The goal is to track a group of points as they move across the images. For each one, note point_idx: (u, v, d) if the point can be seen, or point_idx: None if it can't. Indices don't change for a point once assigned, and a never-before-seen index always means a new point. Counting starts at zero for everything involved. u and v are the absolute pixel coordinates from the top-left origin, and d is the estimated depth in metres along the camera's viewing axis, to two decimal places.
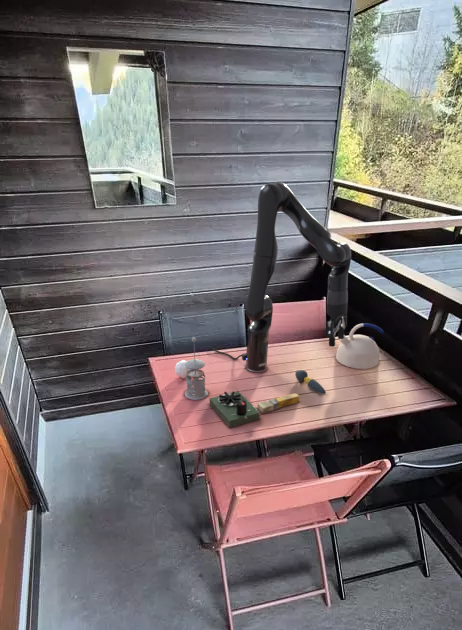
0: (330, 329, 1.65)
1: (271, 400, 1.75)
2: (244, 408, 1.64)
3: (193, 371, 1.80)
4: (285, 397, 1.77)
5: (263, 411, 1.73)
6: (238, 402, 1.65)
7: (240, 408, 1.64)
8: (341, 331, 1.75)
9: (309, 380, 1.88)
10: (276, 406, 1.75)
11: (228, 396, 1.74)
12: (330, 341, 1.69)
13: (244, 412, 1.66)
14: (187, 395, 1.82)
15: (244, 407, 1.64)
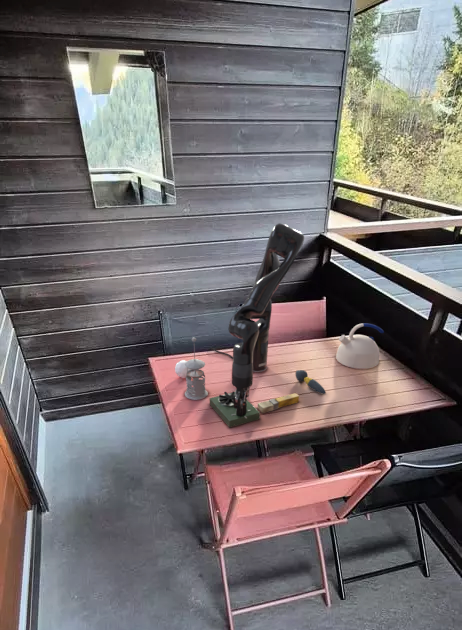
0: None
1: (271, 400, 1.75)
2: (244, 408, 1.64)
3: (193, 371, 1.80)
4: (285, 397, 1.77)
5: (263, 411, 1.73)
6: None
7: None
8: None
9: (309, 380, 1.88)
10: (276, 406, 1.75)
11: (228, 396, 1.74)
12: None
13: (244, 412, 1.66)
14: (187, 395, 1.82)
15: (244, 407, 1.64)
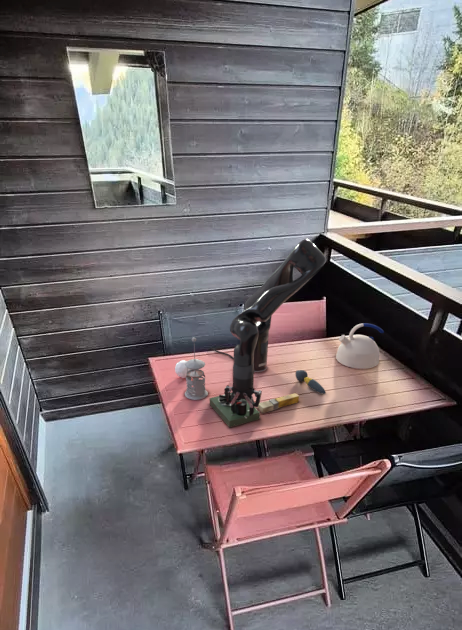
0: (260, 398, 1.62)
1: (271, 400, 1.75)
2: (237, 407, 1.65)
3: (193, 371, 1.80)
4: (285, 397, 1.77)
5: (263, 411, 1.73)
6: (241, 401, 1.66)
7: None
8: (235, 404, 1.66)
9: (309, 380, 1.88)
10: (276, 406, 1.75)
11: None
12: (253, 410, 1.65)
13: (237, 411, 1.66)
14: (187, 395, 1.82)
15: (237, 406, 1.65)
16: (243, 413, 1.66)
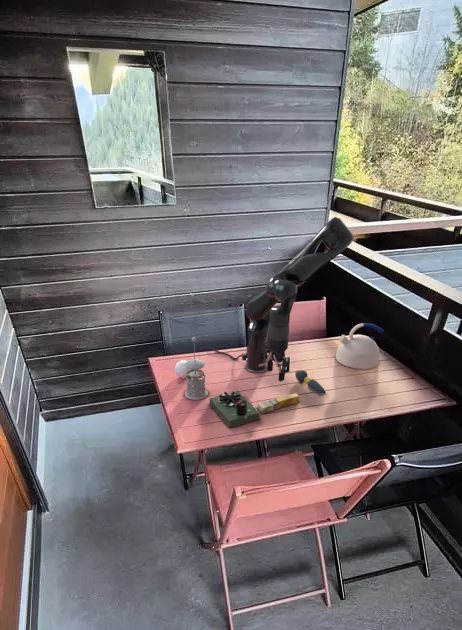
0: (288, 365, 1.58)
1: (271, 400, 1.75)
2: (237, 407, 1.65)
3: (193, 371, 1.80)
4: (285, 397, 1.77)
5: (263, 411, 1.73)
6: (241, 401, 1.66)
7: None
8: (271, 363, 1.69)
9: (309, 380, 1.88)
10: (276, 406, 1.75)
11: (228, 396, 1.74)
12: (282, 376, 1.63)
13: (237, 411, 1.66)
14: (187, 395, 1.82)
15: (237, 406, 1.65)
16: (243, 413, 1.66)
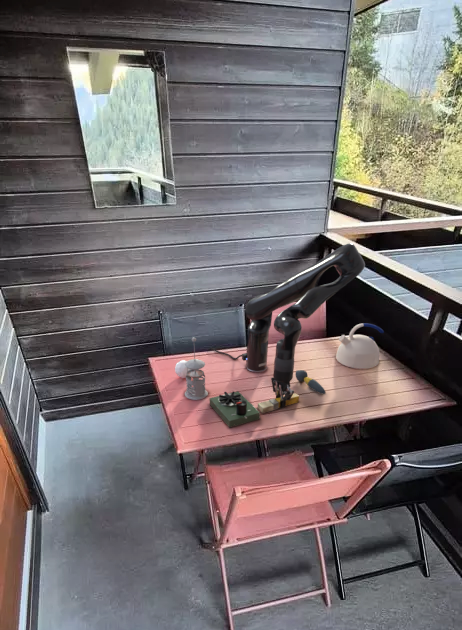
0: (290, 396, 1.70)
1: (271, 400, 1.75)
2: (237, 407, 1.65)
3: (193, 371, 1.80)
4: None
5: (263, 411, 1.73)
6: (241, 401, 1.66)
7: None
8: (279, 396, 1.77)
9: (309, 380, 1.88)
10: (276, 406, 1.75)
11: (228, 396, 1.74)
12: (284, 403, 1.74)
13: (237, 411, 1.66)
14: (187, 395, 1.82)
15: (237, 406, 1.65)
16: (243, 413, 1.66)
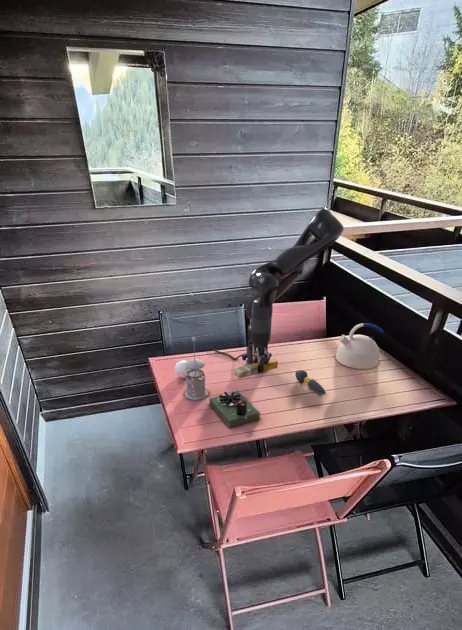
0: (268, 359, 1.62)
1: (248, 365, 1.67)
2: (237, 407, 1.65)
3: (193, 371, 1.80)
4: None
5: (240, 376, 1.64)
6: (241, 401, 1.66)
7: None
8: (257, 362, 1.69)
9: (309, 380, 1.88)
10: (253, 371, 1.66)
11: (228, 396, 1.74)
12: (261, 368, 1.66)
13: (237, 411, 1.66)
14: (187, 395, 1.82)
15: (237, 406, 1.65)
16: (243, 413, 1.66)
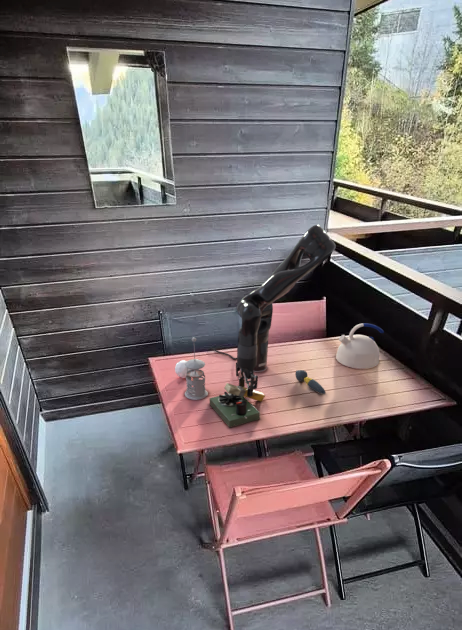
0: (255, 382, 1.67)
1: (239, 386, 1.74)
2: (237, 407, 1.65)
3: (193, 371, 1.80)
4: None
5: (229, 391, 1.69)
6: (241, 401, 1.66)
7: None
8: (242, 381, 1.76)
9: (309, 380, 1.88)
10: (242, 393, 1.73)
11: (228, 396, 1.74)
12: (251, 392, 1.71)
13: (237, 411, 1.66)
14: (187, 395, 1.82)
15: (237, 406, 1.65)
16: (243, 413, 1.66)
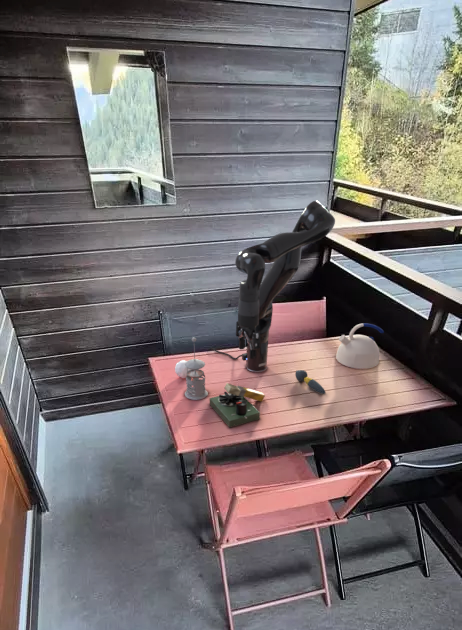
0: (258, 341, 1.56)
1: (239, 386, 1.74)
2: (237, 407, 1.65)
3: (193, 371, 1.80)
4: (252, 390, 1.76)
5: (229, 391, 1.69)
6: (241, 401, 1.66)
7: None
8: (243, 341, 1.67)
9: (309, 380, 1.88)
10: (242, 393, 1.73)
11: (228, 396, 1.74)
12: (253, 353, 1.60)
13: (237, 411, 1.66)
14: (187, 395, 1.82)
15: (237, 406, 1.65)
16: (243, 413, 1.66)
